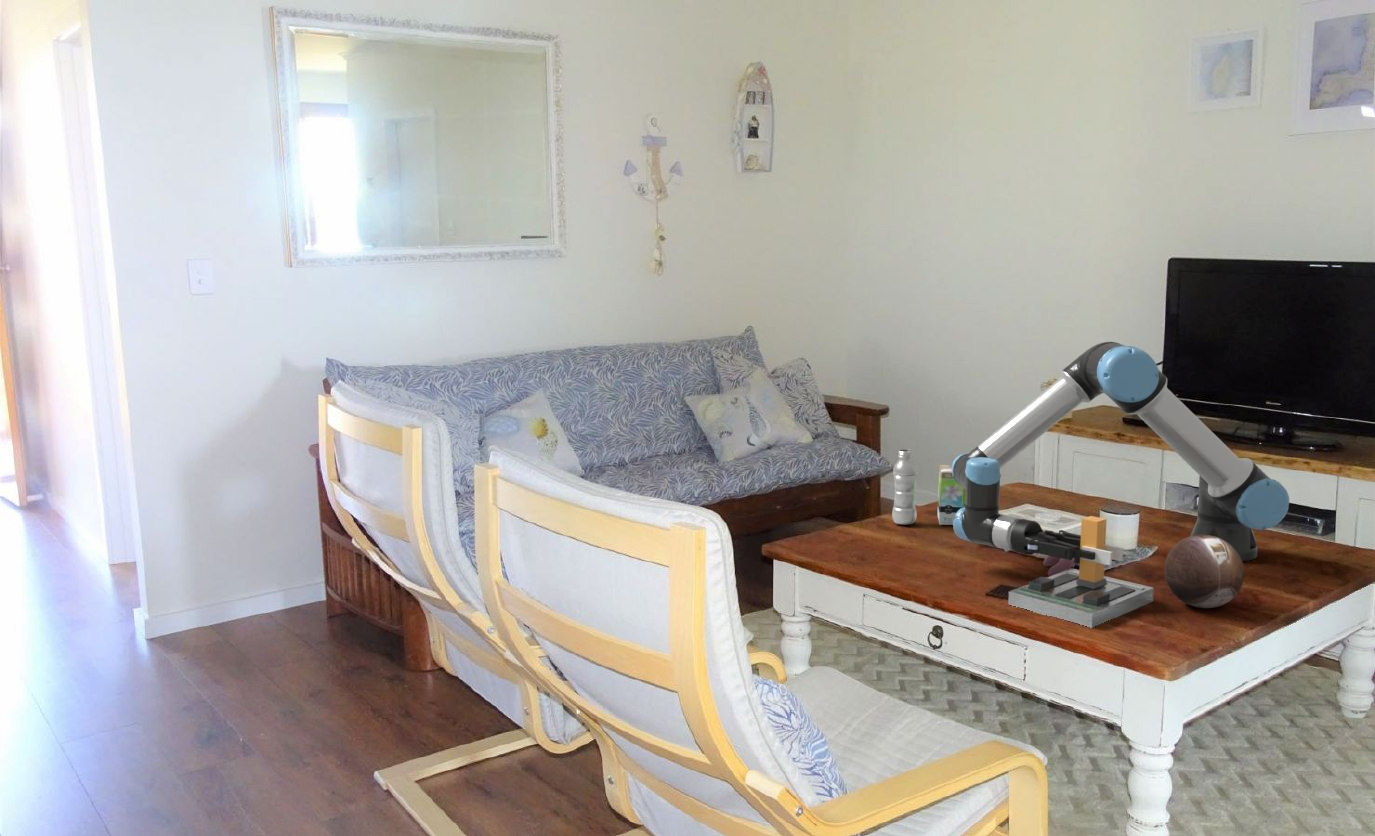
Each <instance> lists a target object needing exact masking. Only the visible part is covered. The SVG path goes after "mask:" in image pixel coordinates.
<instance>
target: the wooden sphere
mask: <svg viewBox="0 0 1375 836" xmlns="http://www.w3.org/2000/svg"><path fill="white" fill-rule="evenodd" d="M1163 566H1164V568H1163V571H1164V577H1165V578H1164V579H1165V581H1166V584H1167V586H1168V588H1169V589H1170V591H1171V593H1173V595H1174V596H1175V597H1176V598H1178V599H1179V600H1180V601H1182V602H1183V603H1185V604H1187V605H1189V606H1191V607H1194V608H1198V609H1213V608H1218V607H1221V606H1223V605H1226V604H1227V603H1230V602H1231V601H1232V600H1233V599H1234V598H1235V597H1236V596H1237V595H1238V594H1239V592H1240V591H1241V589H1242V586H1243V584H1244V581H1245V567H1244V561H1242V560H1241V558H1240V556H1239V554H1238V553H1237V551H1236V550H1235V549H1234V548H1233V547H1232V546H1231V545H1230V544H1229V543H1227V542H1226V541H1224V540H1222V539H1220V538H1218V537H1215V536H1211V535H1194V536H1190V535H1189V536H1187V537H1185V538H1183V539H1181V540H1180V541H1178V542H1176V544H1174V546H1172V547H1171V549H1170V550H1169V552H1168V554H1167V556H1166V558H1165V561H1164V565H1163Z"/></svg>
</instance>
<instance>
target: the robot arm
mask: <svg viewBox="0 0 1375 836" xmlns="http://www.w3.org/2000/svg"><path fill="white" fill-rule="evenodd" d="M1102 394H1104V395H1106V396H1107V397H1108V398H1109V399H1110V400H1111V401H1112V402H1113V403H1114V404H1116V406H1118V408H1120V410H1122V411H1123V412H1124V413H1125V414H1127V415H1137V416H1138V417H1139V418H1140V419H1141V420H1142V421H1143V422H1144V424H1146V425H1147V426H1148V427H1149V428H1150V429H1151V430H1152V431H1154V433H1155V434H1156V435H1158V436H1159V438H1160V439H1161V440H1163V441H1164V442H1165V444H1167V446H1169V447H1170V448H1171V449H1172V450H1173V451H1174V452H1175V454H1177V455H1178V456H1179V457H1180V458H1181V459H1182V460H1183V461H1184V462H1185V463H1186V464H1187V465H1189V466H1190V468H1191V469H1193V470H1194V471H1195V473H1197V474H1198V475H1199V476H1198V478H1199V480H1198V481H1199V482H1198V501H1197V517H1196V518H1197V519H1196V521H1195V524H1194V527H1193V529H1192V530H1191V533H1190V535H1189V537H1190V536H1194V535H1211V536H1215V537H1218V538H1220V539H1222V540H1224V541H1226V542H1227V543H1229V544H1230V545H1231V546H1232V547H1233V548H1234V549H1235V550H1236V551H1237V553H1238V554H1239V556H1240V558H1241V560H1242V562H1245V561H1246V562H1247V561H1251V560H1255V559H1256V558H1257V557H1258V545H1257V541H1256V537H1255V533H1254V531H1253V529H1254V530H1268V529H1271V528H1272V527H1275V526H1276V525H1278V524H1279V523H1281V522H1282V520H1283V519H1284V518H1285V517H1286V515H1287V513H1288V511H1289V506H1290V496H1289V493H1288V491H1287V489H1286V488H1285V487H1284V486H1283V485H1282V483H1281V482H1279V481H1277V480H1275V479H1273V478H1271V477H1269V476H1268V475H1267V474H1266V473H1265V472H1264V471H1263V470H1262V469H1261V468H1260V467H1259V466H1258V465H1257V464H1256V463H1255V461H1254V460H1253V459H1250V458H1248V457H1238V456H1237V454H1235V453H1234V452H1233V451H1232V450H1231V449H1230V447H1228V446H1227V445H1226V444H1225V443H1224V442H1223V441H1222V439H1220V438H1219V437H1218V436H1217V435H1216V434H1215V433H1214V432H1213V431H1212V430H1211V429H1210V428H1209V427H1208V426H1207V425H1206V424H1205V423H1203V421H1201V419H1200V418H1198V417H1197V415H1196V414H1194V413H1193V412H1192V410H1190V409H1189V407H1187V406H1186V405H1185V404H1184V403H1183V401H1181V400H1180V399H1179V398H1178V397H1177V396H1176V395H1175V394H1174V393H1173V392H1172V391H1171V390H1170V389H1169V388H1168V378H1167V377H1166V375H1165V374H1164V373H1163V372H1162V371H1160V369H1159V367H1158V365H1157V362H1156V361H1155V360H1154V359H1153V358H1152V356H1151V355H1150V354H1149V353H1148V352H1146V351H1144V350H1143V349H1141V348H1138V347H1135V346H1131V345H1124V344H1121V343H1119V342H1115V341H1105V342H1100V343H1097V344H1095V345H1093V346H1091V347H1090V348H1089V349H1087V350H1085V351H1084V352H1083V353H1081V354H1080V355H1079V356H1078V357H1077V358H1075V359H1074V360H1073V361H1072V362H1070V363H1069V364H1068V365H1067V366H1066V367H1064V368H1063V369H1061V371H1060V377H1059V378H1058V379H1057V380H1056V381H1055V382H1054V383H1052V384H1051V385H1049V387H1047V388H1045V390H1043V391H1042V392H1041V393H1040V394H1039V395H1038V396H1036V397H1035V398H1034V399H1033V400H1032V401H1030V402H1029V403H1028V404H1027V405H1026V406H1025V407H1024V408H1022V409H1021V410H1020V411H1018V412H1017V413H1016V414H1015V415H1014V416H1012V417H1011V418H1010V419H1008V421H1006V422H1005V423H1004V424H1003V425H1002V426H1001V427H999V428H998V429H997V430H995V431H994V432H993V433H992V434H991V435H990V436H988V437H987V438H986V439H985V440H984V441H982V442H981V443H980V444H979V445H978V446H976V447H975V448H973V449H971V450H970V451H969V452H968V453H961V454H960V455H958V456H957V457H955V458H954V460H953V461H952V463H951V464H952V468H951V470H952V474H953V476H954V478H955V481H956V482H957V483H958V484H960V485H961V486H962V487H963V488H964V489H965V507H963V508H961V509H959V510H958V511H957V513H956V515H955V520H954V521H953V525H952V526H953V531H954V533H955V535H956V536H957V537H958V538H960V539H962V540H965V541H968V542H971V543H974V544H980V545H985V546H989V547H994V548H997V549H998V548H999V549H1002V550H1003V549H1004V552H1006V553H1007V552H1009V551H1012V552H1016V553H1017V554H1018V553H1019V554H1023V555H1028V556H1030V555H1034V554H1040V555H1044V556H1047V557H1048V556H1053V557H1058V558H1062V559H1067V560H1072V558H1075V560H1074V563H1080V557H1081V559H1084V560H1088V561H1092V562H1097V563H1101V564H1104V565H1106V566H1112V565H1113V560H1114V561H1116V562H1117V561H1118V562H1123V561H1124V547H1120V546H1117V545H1116V546H1115V545H1112V544H1111V545H1110V544H1106V543H1105V550H1101V549H1096V548H1091V547H1087V546H1082V549H1080V544H1081V534H1077V533H1073V532H1068V531H1065V530H1062V529H1060V530H1058V532H1055V531H1053V530H1047V529H1045V530H1043V529H1042V527H1041V525H1040V523H1039V522H1037V521H1035V520H1031V519H1030V520H1029V519H1025V518H1020V517H1018V516H1017V517H1016V516H1012V515H1007V514H1001V513H999V512H1000V491H1001V490H1000V488H1001V486H1000V485H1001V477H1002V476H1001V475H1002V474H1001V469H1002V468H1003V467H1005V465H1007V464H1008V463H1009V462H1010V461H1013V459H1014V458H1015V457H1017V456H1018V455H1019V454H1020V453H1022V452H1024V450H1026V449H1027V448H1028V447H1029V446H1030V445H1031V444H1033V443H1034V442H1035V441H1037V440H1038V439H1039V438H1040V437H1041V436H1043V435H1044V434H1045V433H1047V431H1049V430H1050V429H1051V428H1052V427H1053V426H1055V425H1056V424H1058V423H1059V421H1061V420H1062V419H1064V418H1065V417H1066V416H1068V415H1069V413H1071V412H1072V411H1074V409H1076V408H1077V407H1078V406H1079V405H1081V404H1082V403H1090V402H1091V401H1093V400H1094V399H1095V398H1097V397H1098V396H1101V395H1102Z"/></svg>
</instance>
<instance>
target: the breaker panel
mask: <svg viewBox="0 0 1375 836" xmlns="http://www.w3.org/2000/svg"><path fill="white" fill-rule="evenodd" d="M1078 578H1079V569H1077V568H1072V567H1071V568H1070V569H1069V570H1066V571H1063V572H1061V573H1058V574H1055V575H1052V576H1047V577H1046V576H1040V577H1037V578H1034V579H1032V580H1029V581H1028V584H1025V585H1023V586H1020V587H1017V588H1014V589H1011V590H1009V591H1008V601H1007V603H1008V604H1009V605H1012V606H1011V607H1013V606H1016V607H1015V608H1017V607H1020V608H1024V609H1027V610H1030V611H1029V612H1031V611H1033V612H1032V613H1035V612H1036V613H1035V614H1039V615H1043V616H1045V617H1049V616H1053V617H1057V618H1060V619H1064V620H1067V621H1071V622H1074V623H1078V624H1080V625H1079V626H1082V625H1084V626H1083V627H1085V626H1087V627H1086V628H1089V627H1090V628H1089V629H1093V628H1096V627H1098V626H1100V625H1102V624H1105V623H1107V622H1109V621H1111V619H1112V620H1113V618H1114V619H1116V618H1118V617H1121V616H1123V615H1126V614H1127V613H1130V612H1132V611H1135V610H1137V609H1139V608H1141V607H1144V606H1146V605H1149V604H1150V603H1153V602H1154V589H1155V588H1154V587H1152V586H1147V585H1144V584H1139V583H1135V582H1131V581H1126V580H1124V579H1123V580H1122V579H1118V578H1115V577H1114V578H1113V577H1109V576H1105V575H1104V578H1105V579H1106V584H1105V585H1103V586H1100V587H1097V588H1095V589H1092V588H1088V587H1084V586H1080V585H1076V582H1077V579H1078ZM1009 605H1008V606H1009ZM1020 608H1019V609H1020ZM1024 609H1023V610H1024ZM1027 610H1026V611H1027ZM1046 615H1047V616H1046ZM1053 617H1052V618H1053ZM1060 619H1059V620H1060ZM1064 620H1063V621H1064ZM1108 620H1109V621H1108ZM1067 621H1066V622H1067ZM1106 621H1107V622H1106ZM1071 622H1070V623H1071ZM1104 622H1105V623H1104ZM1074 623H1073V624H1074ZM1101 623H1102V624H1101ZM1078 624H1077V625H1078ZM1099 624H1100V625H1099ZM1097 625H1098V626H1097ZM1095 626H1096V627H1095Z"/></svg>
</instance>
